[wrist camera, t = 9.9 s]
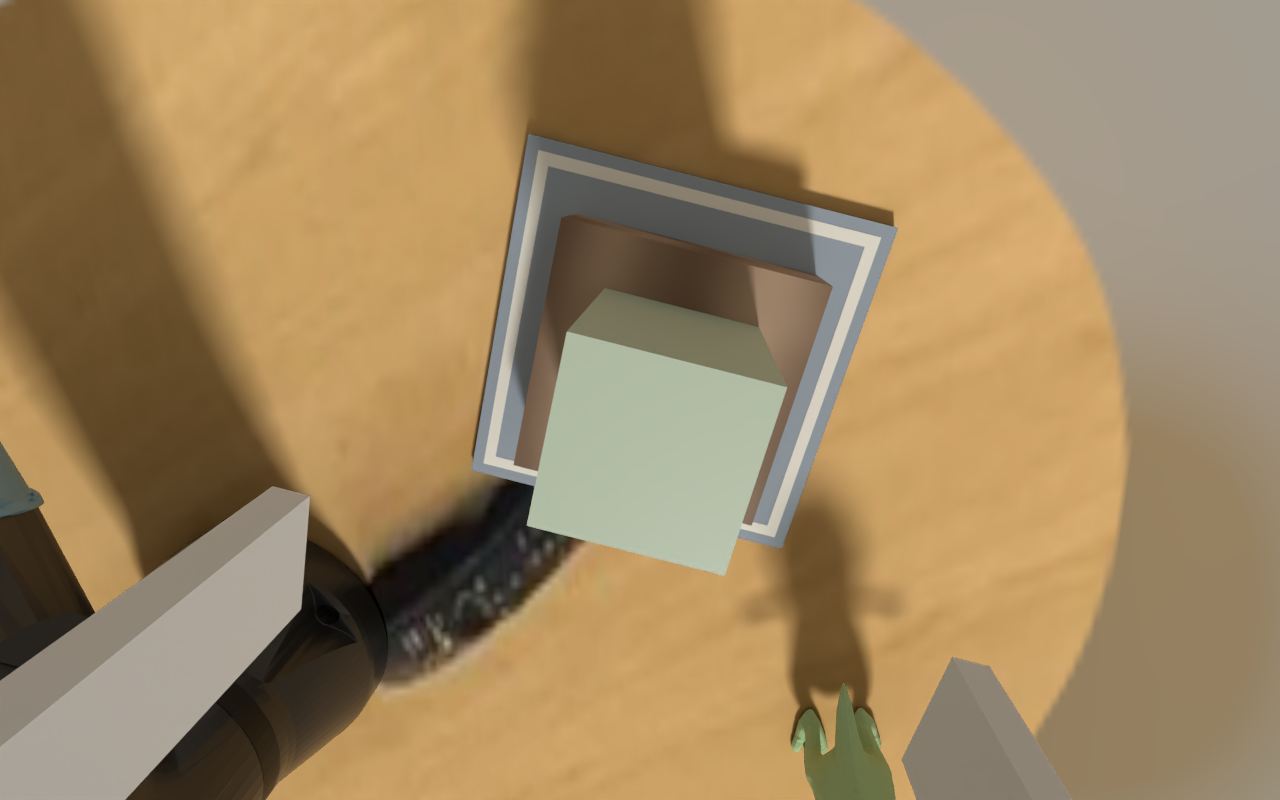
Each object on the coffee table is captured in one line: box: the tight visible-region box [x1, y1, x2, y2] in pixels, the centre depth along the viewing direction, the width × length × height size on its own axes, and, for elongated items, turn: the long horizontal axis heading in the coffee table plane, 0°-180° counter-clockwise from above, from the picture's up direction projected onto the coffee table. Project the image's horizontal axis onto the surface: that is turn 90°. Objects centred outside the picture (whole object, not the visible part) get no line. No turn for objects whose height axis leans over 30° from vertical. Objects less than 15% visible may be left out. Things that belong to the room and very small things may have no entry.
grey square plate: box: [472, 134, 898, 549], centre depth 33 cm, size 18×18×1 cm
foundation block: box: [514, 214, 833, 526], centre depth 31 cm, size 12×12×4 cm
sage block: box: [527, 288, 787, 576], centre depth 25 cm, size 7×7×9 cm
